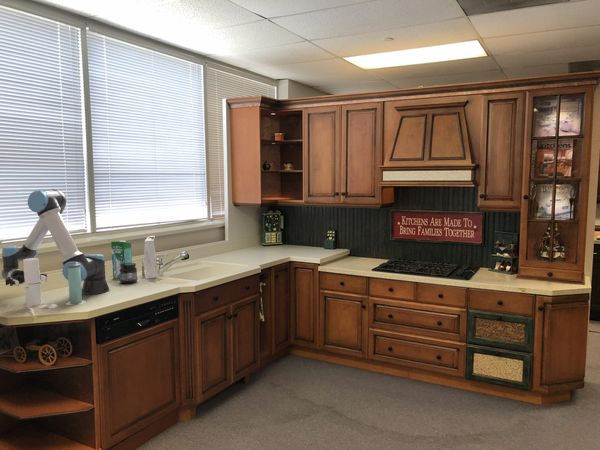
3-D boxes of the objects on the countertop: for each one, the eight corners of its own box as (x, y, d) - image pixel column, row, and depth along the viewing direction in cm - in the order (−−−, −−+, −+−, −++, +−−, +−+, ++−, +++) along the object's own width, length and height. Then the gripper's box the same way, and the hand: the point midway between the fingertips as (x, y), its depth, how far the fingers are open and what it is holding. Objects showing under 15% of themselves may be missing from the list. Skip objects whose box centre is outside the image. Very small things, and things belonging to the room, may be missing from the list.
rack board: (84, 301, 265) (84, 298, 265) (88, 306, 255) (88, 303, 255) (35, 308, 253) (35, 305, 252) (37, 313, 243) (37, 310, 243)
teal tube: (81, 300, 262) (79, 263, 260) (83, 302, 257) (81, 265, 255) (68, 302, 259) (66, 264, 257) (70, 304, 253) (67, 266, 251)
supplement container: (128, 280, 320) (127, 262, 319) (141, 281, 316) (140, 263, 315) (116, 283, 311) (115, 264, 309) (129, 284, 306) (128, 265, 305)
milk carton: (132, 276, 333) (130, 239, 330) (125, 278, 324) (123, 241, 322) (120, 275, 335) (119, 239, 332) (113, 278, 326) (111, 241, 324)
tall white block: (38, 307, 254) (35, 260, 251) (24, 308, 253) (20, 260, 251) (44, 304, 261) (41, 257, 258) (30, 304, 260) (27, 258, 258)
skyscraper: (152, 276, 334) (150, 235, 331) (159, 277, 328) (157, 236, 326) (141, 278, 327) (139, 236, 324) (148, 279, 322) (146, 237, 319)
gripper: (42, 279, 279) (57, 284, 264) (-8, 287, 260) (6, 292, 246) (41, 266, 278) (56, 270, 264) (-9, 273, 259) (5, 278, 245)
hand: (32, 281), depth 255 cm, fingers open, 13 cm apart
